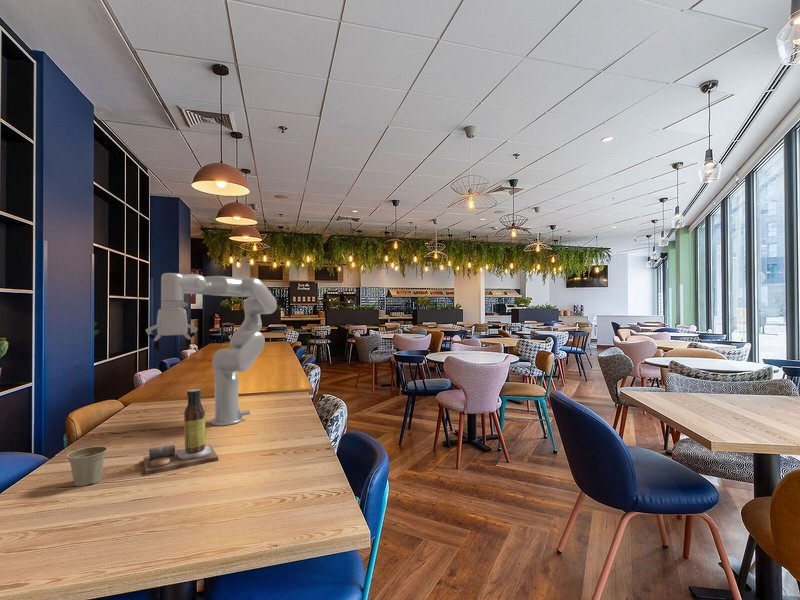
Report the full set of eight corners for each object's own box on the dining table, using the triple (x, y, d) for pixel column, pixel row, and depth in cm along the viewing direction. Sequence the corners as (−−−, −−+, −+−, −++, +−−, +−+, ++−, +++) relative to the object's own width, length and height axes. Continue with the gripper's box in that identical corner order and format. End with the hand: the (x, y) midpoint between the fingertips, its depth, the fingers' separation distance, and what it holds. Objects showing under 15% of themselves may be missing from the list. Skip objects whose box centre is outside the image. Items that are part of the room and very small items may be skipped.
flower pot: (62, 492, 111) (62, 460, 111) (70, 479, 119) (71, 449, 119) (104, 485, 115) (104, 454, 115) (110, 473, 123) (110, 444, 123)
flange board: (210, 448, 144) (210, 435, 145) (218, 460, 133) (218, 446, 133) (143, 460, 133) (143, 446, 133) (145, 475, 122) (145, 460, 122)
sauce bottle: (209, 448, 137) (210, 389, 137) (193, 454, 131) (193, 392, 132) (196, 445, 140) (196, 387, 140) (179, 451, 134) (179, 391, 134)
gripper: (196, 305, 164) (195, 348, 164) (145, 305, 154) (145, 351, 154) (199, 305, 158) (198, 350, 158) (146, 305, 148) (146, 353, 148)
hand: (172, 350), depth 156 cm, fingers open, 9 cm apart
